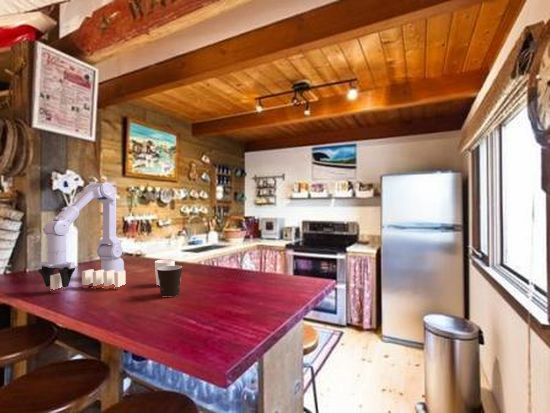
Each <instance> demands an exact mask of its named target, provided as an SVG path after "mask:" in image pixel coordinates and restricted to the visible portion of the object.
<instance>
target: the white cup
mask: <svg viewBox="0 0 550 413" xmlns="http://www.w3.org/2000/svg"><path fill="white" fill-rule="evenodd" d="M175 262H176V260H175V259H172V258H171V259H167V258H166V259H158V260H155V261H154V270H155V283H156V286H157V285H159V279H158V272H157V268H160V267H164V266H176V264H175Z"/></svg>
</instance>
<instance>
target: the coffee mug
mask: <svg viewBox="0 0 550 413" xmlns="http://www.w3.org/2000/svg"><path fill="white" fill-rule="evenodd" d="M182 270H183V266H182V265H175V266H164V267H160V268H157V272H158V279H159V286H160V287H159V291H160V292H159V293H160V297H161V296H176V295H178V294H179V293H181V292H180V291H181V282H182V272H183V271H182ZM179 295H180V294H179ZM179 295H178V296H179ZM176 297H177V296H176Z"/></svg>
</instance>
